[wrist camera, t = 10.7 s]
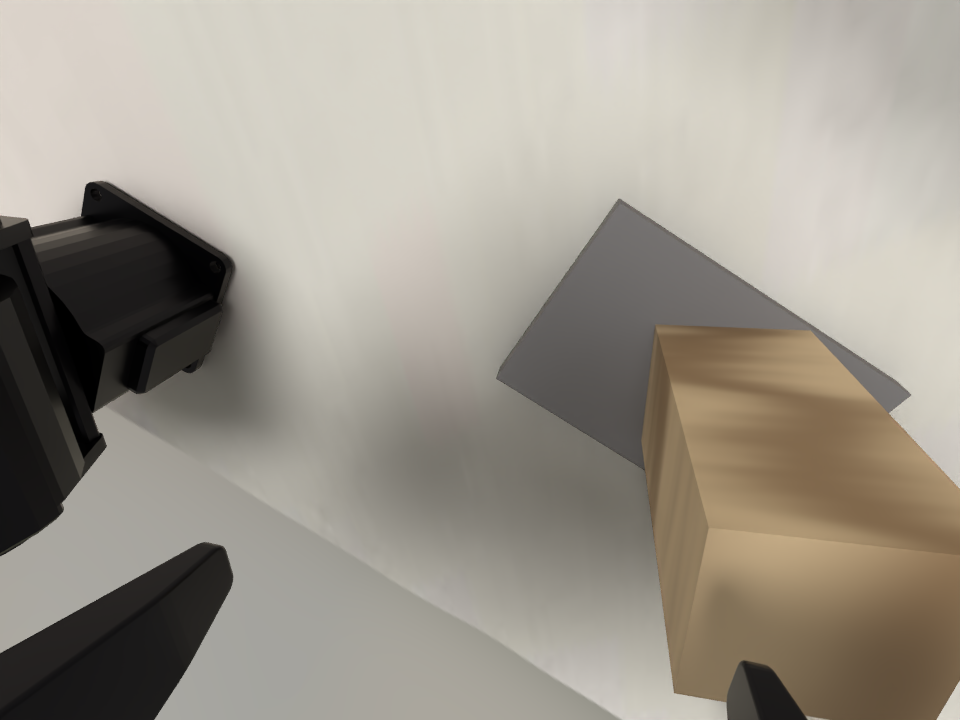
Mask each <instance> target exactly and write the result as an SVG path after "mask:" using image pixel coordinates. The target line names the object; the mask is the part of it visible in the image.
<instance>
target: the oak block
mask: <svg viewBox="0 0 960 720" xmlns="http://www.w3.org/2000/svg"><path fill="white" fill-rule="evenodd" d="M641 442H642V450H643V458H644V465H645V473H646V481H647V488H648V496H649V504H650V511H651V519H652V527H653V534H654V542H655V550H656V557H657V565H658V573H659V580H660V588H661V596H662V603H663V611H664V619H665V626H666V634H667V641H668V649H669V657H670V664H671V672H672V680H673V687H674V693H676V694H682V695H688V696H694V697H700V698H705V699H711V700H717V701H723V702H727V693H728V689H729V687H730V684H731V681H732V679H733V676H734V674H735V671H736V669H737V666H738V664H739V662H741V661H742V660H747V661H751V662H756V663H760V664H765V665H767V666H769V667H770V668H772V669H773V670H774V672H775V673H776V674H777V676H778V677H779V679H780V680H781V681H782V683H783V684H784V686H785V687H786V689H787V690H788V692H789V693H790V695H791V696H792V697H793V699H794V700H795V702H796V703H797V705H798V706H799V708H800V709H801V710H802V712H803V713H804V715H805V716H810V717H816V718H822V719H827V720H936V719H937V718H938V716H939V714H940V713H941V711H942V709H943V707H944V706H945V704H946V702H947V701H948V699H949V697H950V696H951V694H952V692H953V691H954V689H955V687H956V686H957V684H958V682H959V681H960V489H959V488H958V487H957V486H956V485H955V484H954V482H953V481H952V480H951V479H950V478H949V477H948V476H947V475H946V474H945V473H944V472H943V471H942V470H941V469H940V468H939V467H938V465H937V464H936V463H935V462H934V461H933V460H932V459H931V458H930V457H929V456H928V455H927V454H926V453H925V452H924V451H923V449H922V448H921V447H920V446H919V445H918V444H917V443H916V442H915V441H914V440H913V439H912V438H911V437H910V436H909V435H908V434H907V432H906V431H905V430H904V429H903V428H902V427H901V426H900V425H899V424H898V423H897V422H896V421H895V420H894V419H893V418H892V417H891V415H890V414H889V413H888V412H887V411H886V410H885V409H884V408H883V407H882V406H881V405H880V404H879V403H878V402H877V401H876V399H875V398H874V397H873V396H872V395H871V394H870V393H869V392H868V391H867V390H866V389H865V388H864V387H863V386H862V385H861V384H860V382H859V381H858V380H857V379H856V378H855V377H854V376H853V375H852V374H851V373H850V372H849V371H848V370H847V369H846V368H845V367H844V365H843V364H842V363H841V362H840V361H839V360H838V359H837V358H836V357H835V356H834V355H833V354H832V353H831V352H830V351H829V349H828V348H827V347H826V346H825V345H824V344H823V343H822V342H821V341H820V340H819V339H818V338H817V337H816V336H815V335H814V334H813V332H812V331H811V330H785V329H760V328H734V327H709V326H683V325H658V324H655V331H654V340H653V348H652V356H651V365H650V373H649V381H648V389H647V398H646V406H645V414H644V423H643V431H642V439H641Z"/></svg>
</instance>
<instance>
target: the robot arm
mask: <svg viewBox="0 0 960 720" xmlns="http://www.w3.org/2000/svg"><path fill="white" fill-rule="evenodd" d="M99 192H100V193H101V195H102V197H101V196H100V194H99ZM216 262H217V263H218V264H219V265H220V267H221V270H220V269H218V268H217V266H216ZM231 272H232V265H231V262H230V260H229V259H228V258H227V257H226V256H225V255H224V254H222V253H220V252H219V251H217V250H215V249H214V248H212V247H211V246H209V245H207V244H206V243H204V242H202V241H201V240H199V239H197V238H196V237H194V236H193V235H191V234H189V233H188V232H186V231H184V230H183V229H181V228H179V227H178V226H176V225H175V224H173V223H171V222H170V221H168V220H166V219H165V218H163V217H161V216H160V215H158V214H157V213H155V212H153V211H152V210H150V209H148V208H147V207H145V206H143V205H142V204H140V203H139V202H137V201H135V200H134V199H132V198H130V197H129V196H127V195H125V194H124V193H122V192H120V191H119V190H117V189H116V188H114V187H112V186H111V185H109V184H107V183H106V182H103V181H96V182H89V183H88V184H87V185H86V187H85V192H84V199H83V207H82V214H81V217H77V218H72V219H68V220H63V221H59V222H54V223H49V224H45V225H40V226H36V227H30V224H29V221H28V219H26V218H17V217H7V216H0V556H2V555H4V554H6V553H7V552H9V551H11V550H12V549H14V548H16V547H17V546H19V545H21V544H22V543H24V542H25V541H26V540H28V539H29V538H31V537H32V536H34V535H36V534H38V533H39V532H40V531H41V530H43V529H44V528H45V527H47V526H48V525H49V524H50V523H52V522H53V521H54V520H56V519H57V518H58V517H59V515H60V514H61V513H62V512H63V510H64V507H63V505H62V502H63V501H64V500H65V499H66V498H67V496H68V495H69V494H70V492H71V491H72V490H73V488H74V487H75V486H76V485H77V483H78V482H79V481H80V480H81V478H82V477H83V476H84V474H85V473H86V472H87V471H88V470H89V468H90V467H91V466H92V465H93V463H94V462H95V461H96V460H97V458H98V457H99V456H100V455H101V453H102V452H103V451H104V450H105V448H106V446H107V445H106V443H105V440H104V437H103V434H102V433H99V432H98V429H97V426H96V423H95V420H94V417H93V414H92V413H94V412H95V411H97V410H98V409H100V408H102V407H103V406H105V405H107V404H108V403H110V402H111V401H113V400H115V399H116V398H118V397H120V396H121V395H123V394H125V393H126V392H128V391H129V390H131V391H132V392H134V393H136V394H142V393H146V392H148V391H149V390H151V389H152V388H154V387H156V386H157V385H159V384H160V383H162V382H163V381H165V380H166V379H168V378H170V377H171V376H173V375H174V374H176V373H177V372H179V371H180V370H183V371H185V372H187V373H192V372H194V371H196V370H197V369H199V368H200V367H201V365H202V362H203V359H204V356H205V354H207V353H208V352H209V351H210V349H211V346H212V343H213V340H214V337H215V334H216V331H217V328H218V325H219V322H220V319H221V316H222V313H223V310H222V305H221V303H222V300H223V297H224V293H225V290H226V287H227V284H228V281H229V278H230V275H231ZM232 582H233V573H232V569H231V566H230V562H229V559H228V556H227V552H226V550H225V548H224V547H223V546H221V545H217V544H212V543H207V542H203V543H200V544H197V545H195V546H194V547H192V548H190V549H188V550H186V551H185V552H183V553H181V554H179V555H177V556H175V557H174V558H172V559H170V560H168V561H166V562H165V563H163V564H161V565H159V566H157V567H156V568H154V569H152V570H150V571H148V572H147V573H145V574H143V575H141V576H139V577H138V578H136V579H134V580H132V581H130V582H128V583H127V584H125V585H123V586H121V587H119V588H118V589H116V590H114V591H112V592H110V593H109V594H107V595H105V596H103V597H101V598H100V599H98V600H96V601H94V602H92V603H90V604H89V605H87V606H85V607H83V608H81V609H80V610H78V611H76V612H74V613H73V614H71V615H69V616H67V617H65V618H64V619H62V620H60V621H58V622H56V623H54V624H53V625H51V626H49V627H47V628H45V629H43V630H42V631H40V632H38V633H36V634H34V635H33V636H31V637H29V638H27V639H25V640H24V641H22V642H20V643H18V644H16V645H15V646H13V647H11V648H9V649H7V650H6V651H4V652H2V653H0V720H154V719H155V718H156V716H157V715H158V713H159V712H160V710H161V709H162V707H163V705H164V704H165V702H166V701H167V699H168V698H169V696H170V695H171V693H172V692H173V690H174V689H175V687H176V686H177V684H178V683H179V681H180V679H181V678H182V676H183V675H184V673H185V671H186V670H187V668H188V666H189V665H190V663H191V661H192V659H193V657H194V656H195V654H196V652H197V650H198V648H199V647H200V645H201V643H202V641H203V639H204V637H205V635H206V634H207V632H208V630H209V628H210V626H211V624H212V622H213V621H214V619H215V617H216V615H217V613H218V611H219V609H220V608H221V606H222V604H223V602H224V600H225V598H226V596H227V595H228V593H229V591H230V589H231V586H232ZM727 718H728V720H808V719H807V718H806V716H805V715H804V713H803V712H802V710H801V709H800V708H799V706H798V705H797V703H796V702H795V700H794V699H793V697H792V696H791V695H790V693H789V692H788V690H787V689H786V687H785V686H784V684H783V683H782V681H781V680H780V679H779V677H778V676H777V674H776V673H775V672H774V670H773V669H772V668H770V667H769V666H767V665H765V664H760V663H756V662H751V661H747V660H742V661H741V662H739V664H738V666H737V669H736V671H735V674H734V676H733V679H732V681H731V684H730V687H729V689H728V693H727Z"/></svg>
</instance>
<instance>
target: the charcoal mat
mask: <svg viewBox="0 0 960 720" xmlns="http://www.w3.org/2000/svg"><path fill="white" fill-rule="evenodd" d="M655 324H658V325H683V326H709V327H734V328H760V329H785V330H811V331H812V332H813V334H814V335H815V336H816V337H817V338H818V339H819V340H820V341H821V342H822V343H823V344H824V345H825V346H826V347H827V348H828V349H829V351H830V352H831V353H832V354H833V355H834V356H835V357H836V358H837V359H838V360H839V361H840V362H841V363H842V364H843V365H844V367H845V368H846V369H847V370H848V371H849V372H850V373H851V374H852V375H853V376H854V377H855V378H856V379H857V380H858V381H859V382H860V384H861V385H862V386H863V387H864V388H865V389H866V390H867V391H868V392H869V393H870V394H871V395H872V396H873V397H874V398H875V399H876V401H877V402H878V403H879V404H880V405H881V406H882V407H883V408H884V409H885V410H886V411H887V412H888V413H889V412H890V411H892V410H893V409H894V408H896V407H897V406H898V405H899V404H901V403H902V402H903V401H904V400H906V399H907V398H908V397H910V396H911V394H910V393H909V392H908V391H907V390H906V389H905V388H903V387H902V386H901V385H900V384H899V383H898V382H897V381H896V380H894V379H893V378H891V377H890V376H888V375H887V374H885V373H883V372H882V371H880V370H879V369H877V368H876V367H874V366H873V365H871V364H870V363H868V362H867V361H865V360H864V359H862V358H861V357H859V356H858V355H856V354H855V353H853V352H852V351H850V350H849V349H847V348H846V347H844V346H842V345H841V344H839V343H838V342H836V341H835V340H833V339H832V338H830V337H829V336H827V335H826V334H824V333H823V332H821V331H820V330H818V329H817V328H815V327H814V326H812V325H811V324H809V323H808V322H806V321H804V320H803V319H801V318H800V317H798V316H797V315H795V314H794V313H792V312H791V311H789V310H788V309H786V308H785V307H783V306H782V305H780V304H779V303H777V302H776V301H774V300H773V299H771V298H770V297H768V296H767V295H765V294H763V293H762V292H760V291H759V290H757V289H756V288H754V287H753V286H751V285H750V284H748V283H747V282H745V281H744V280H742V279H741V278H739V277H738V276H736V275H735V274H733V273H732V272H730V271H729V270H727V269H725V268H724V267H722V266H721V265H719V264H718V263H716V262H715V261H713V260H712V259H710V258H709V257H707V256H706V255H704V254H703V253H701V252H700V251H698V250H697V249H695V248H694V247H692V246H691V245H689V244H687V243H686V242H684V241H683V240H681V239H680V238H678V237H677V236H675V235H674V234H672V233H671V232H669V231H668V230H666V229H665V228H663V227H662V226H660V225H659V224H657V223H656V222H654V221H653V220H651V219H650V218H648V217H646V216H645V215H643V214H642V213H640V212H639V211H637V210H636V209H634V208H633V207H631V206H630V205H628V204H627V203H625V202H624V201H622V200H621V199H618V201H617V202H616V204H615V205H614V206H613V208H612V209H611V211H610V212H609V213H608V215H607V216H606V218H605V219H604V221H603V222H602V223H601V225H600V226H599V228H598V229H597V231H596V232H595V233H594V235H593V236H592V238H591V239H590V240H589V242H588V243H587V245H586V246H585V248H584V249H583V250H582V252H581V253H580V255H579V256H578V258H577V259H576V260H575V262H574V263H573V265H572V266H571V267H570V269H569V270H568V272H567V273H566V275H565V276H564V277H563V279H562V280H561V282H560V283H559V285H558V286H557V287H556V289H555V290H554V292H553V293H552V295H551V296H550V297H549V299H548V300H547V302H546V303H545V304H544V306H543V307H542V309H541V310H540V312H539V313H538V314H537V316H536V317H535V319H534V320H533V322H532V323H531V324H530V326H529V327H528V329H527V330H526V331H525V333H524V334H523V336H522V337H521V339H520V340H519V341H518V343H517V344H516V346H515V347H514V349H513V350H512V351H511V353H510V354H509V356H508V357H507V359H506V360H505V361H504V363H503V364H502V366H501V367H500V370H499V372H498V375H497V378H496V379H498V380H499V381H501V382H503V383H504V384H506V385H508V386H509V387H511V388H512V389H514V390H516V391H517V392H519V393H520V394H522V395H524V396H525V397H527V398H529V399H530V400H532V401H533V402H535V403H537V404H538V405H540V406H542V407H543V408H545V409H546V410H548V411H550V412H551V413H553V414H555V415H556V416H558V417H559V418H561V419H563V420H564V421H566V422H567V423H569V424H571V425H572V426H574V427H576V428H577V429H579V430H580V431H582V432H584V433H585V434H587V435H589V436H590V437H592V438H593V439H595V440H597V441H598V442H600V443H601V444H603V445H605V446H606V447H608V448H610V449H611V450H613V451H614V452H616V453H618V454H619V455H621V456H623V457H624V458H626V459H627V460H629V461H631V462H632V463H634V464H636V465H637V466H639V467H640V468H642V469H644V470H645V465H644V458H643V450H642V442H641V439H642V431H643V423H644V414H645V406H646V398H647V389H648V381H649V373H650V365H651V356H652V348H653V340H654V331H655Z"/></svg>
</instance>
